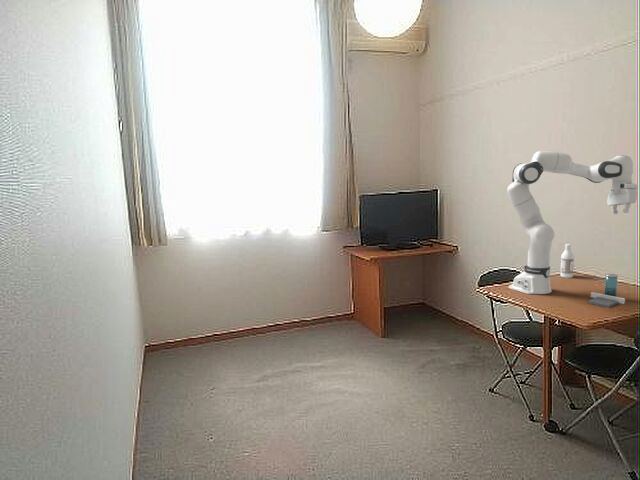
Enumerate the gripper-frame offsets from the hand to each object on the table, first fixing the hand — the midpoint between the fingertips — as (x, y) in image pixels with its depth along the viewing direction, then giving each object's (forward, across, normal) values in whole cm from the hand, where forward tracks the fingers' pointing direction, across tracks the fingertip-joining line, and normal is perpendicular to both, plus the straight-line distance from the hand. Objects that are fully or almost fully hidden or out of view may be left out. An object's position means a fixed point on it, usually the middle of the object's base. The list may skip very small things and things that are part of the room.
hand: (620, 213), depth 255 cm
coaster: (+47, +9, -11) cm, 49 cm away
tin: (+44, 0, -3) cm, 44 cm away
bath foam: (+36, -44, -4) cm, 57 cm away
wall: (+45, +4, -6) cm, 46 cm away
